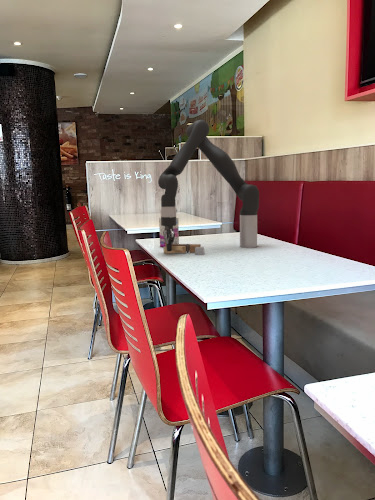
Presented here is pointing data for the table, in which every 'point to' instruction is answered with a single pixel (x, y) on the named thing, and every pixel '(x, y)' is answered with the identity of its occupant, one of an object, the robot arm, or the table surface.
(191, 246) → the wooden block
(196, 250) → the collar
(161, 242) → the candy bar box
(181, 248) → the block
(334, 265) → the table surface
